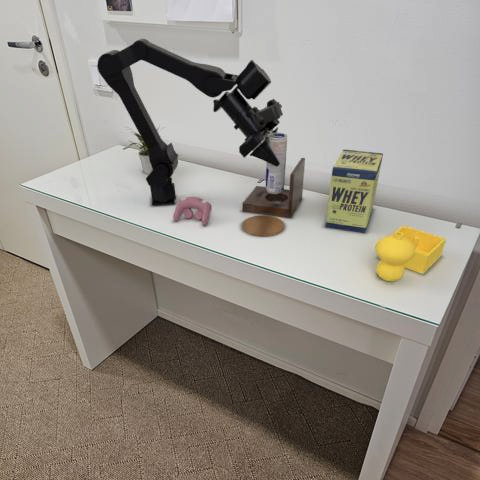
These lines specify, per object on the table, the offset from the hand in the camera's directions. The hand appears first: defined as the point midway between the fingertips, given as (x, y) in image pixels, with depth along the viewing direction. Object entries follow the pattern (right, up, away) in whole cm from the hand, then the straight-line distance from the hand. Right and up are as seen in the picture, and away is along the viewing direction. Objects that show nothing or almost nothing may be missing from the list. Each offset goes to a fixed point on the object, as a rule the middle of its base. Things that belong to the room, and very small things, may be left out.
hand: (281, 161), depth 115 cm
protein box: (+19, -14, +3) cm, 24 cm away
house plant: (-42, +9, +33) cm, 54 cm away
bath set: (+25, -30, -16) cm, 42 cm away
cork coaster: (-5, -17, 0) cm, 18 cm away
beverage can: (-1, -6, +6) cm, 9 cm away
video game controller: (-24, -15, +4) cm, 28 cm away
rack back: (+5, -10, +8) cm, 14 cm away
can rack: (-1, -9, +10) cm, 13 cm away
